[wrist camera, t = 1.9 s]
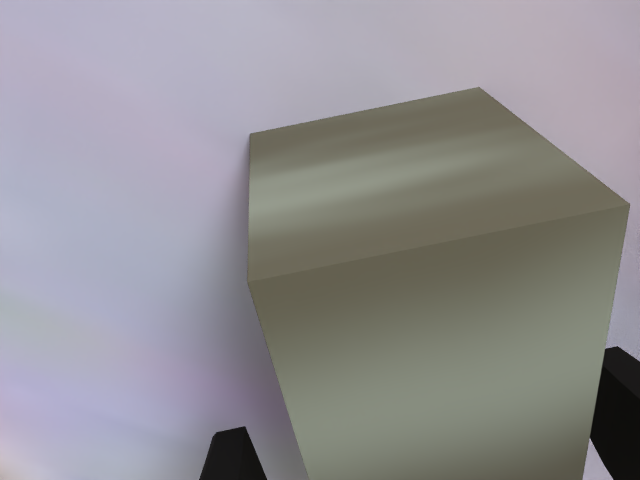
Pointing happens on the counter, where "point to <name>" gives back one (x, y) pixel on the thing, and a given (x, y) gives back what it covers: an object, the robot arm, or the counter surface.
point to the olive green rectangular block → (433, 290)
